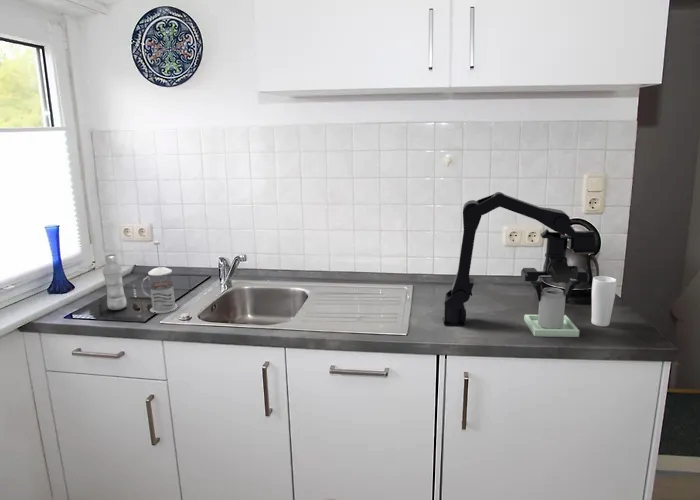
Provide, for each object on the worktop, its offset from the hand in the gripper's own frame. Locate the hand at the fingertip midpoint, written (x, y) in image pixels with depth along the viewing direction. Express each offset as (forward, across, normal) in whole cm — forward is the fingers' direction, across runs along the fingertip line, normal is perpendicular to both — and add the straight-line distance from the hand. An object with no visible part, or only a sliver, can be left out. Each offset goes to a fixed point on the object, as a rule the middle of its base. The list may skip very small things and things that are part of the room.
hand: (552, 301), depth 160 cm
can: (+8, 0, 0) cm, 9 cm away
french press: (+10, -132, +14) cm, 134 cm away
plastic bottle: (+10, -148, +13) cm, 149 cm away
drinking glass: (+9, +17, +4) cm, 19 cm away
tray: (+9, 0, 0) cm, 9 cm away
